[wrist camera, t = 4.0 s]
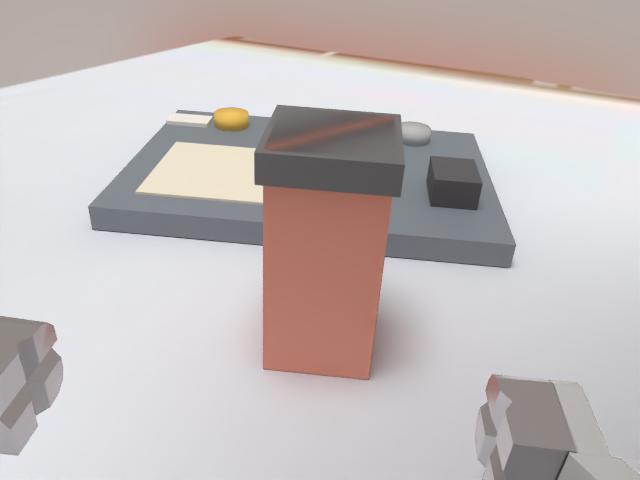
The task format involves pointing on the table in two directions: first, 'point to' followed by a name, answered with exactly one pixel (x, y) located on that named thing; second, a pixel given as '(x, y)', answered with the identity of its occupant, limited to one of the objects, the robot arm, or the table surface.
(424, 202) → the switch board
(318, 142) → the block
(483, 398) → the table surface
